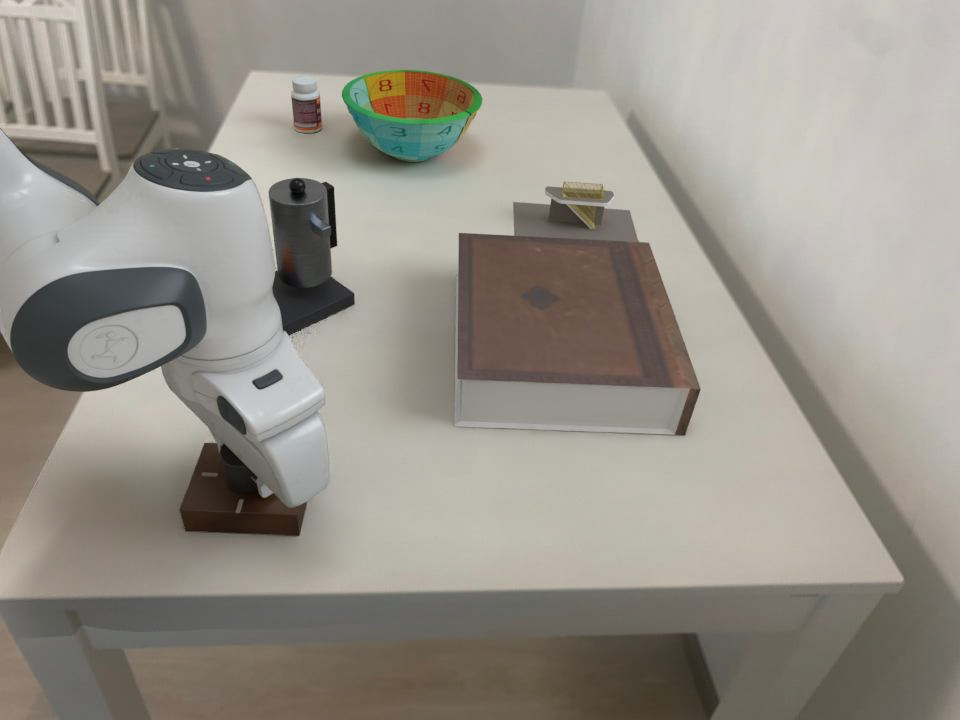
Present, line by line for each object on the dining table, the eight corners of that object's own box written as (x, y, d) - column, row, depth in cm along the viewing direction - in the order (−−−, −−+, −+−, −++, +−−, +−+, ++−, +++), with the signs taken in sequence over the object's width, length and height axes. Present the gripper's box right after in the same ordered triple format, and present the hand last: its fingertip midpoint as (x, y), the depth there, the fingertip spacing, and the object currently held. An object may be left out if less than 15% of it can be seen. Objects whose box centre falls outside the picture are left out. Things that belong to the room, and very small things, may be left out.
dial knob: (264, 496, 67) (259, 466, 65) (219, 491, 67) (212, 461, 65) (276, 462, 70) (272, 433, 68) (233, 457, 70) (227, 428, 68)
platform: (641, 251, 109) (650, 210, 105) (515, 242, 109) (520, 201, 105) (629, 210, 119) (638, 171, 114) (513, 201, 118) (518, 162, 114)
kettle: (308, 301, 89) (299, 205, 81) (267, 271, 93) (255, 176, 85) (360, 278, 93) (357, 184, 85) (319, 250, 97) (312, 157, 89)
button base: (250, 353, 86) (246, 328, 84) (203, 312, 91) (199, 288, 89) (354, 304, 95) (354, 280, 93) (306, 269, 100) (304, 246, 98)
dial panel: (184, 532, 67) (178, 509, 65) (209, 463, 74) (204, 440, 72) (299, 537, 68) (296, 514, 66) (314, 467, 74) (312, 445, 72)
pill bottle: (324, 132, 132) (321, 84, 127) (297, 135, 131) (292, 86, 125) (318, 121, 136) (315, 73, 130) (291, 123, 134) (287, 75, 129)
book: (638, 284, 103) (649, 242, 98) (685, 435, 81) (700, 389, 77) (456, 276, 101) (458, 232, 97) (454, 426, 80) (457, 379, 76)
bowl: (316, 148, 127) (312, 88, 121) (413, 115, 141) (414, 59, 134) (409, 197, 117) (410, 135, 110) (505, 156, 130) (511, 98, 124)
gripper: (124, 307, 63) (158, 427, 72) (265, 442, 53) (284, 562, 62) (194, 280, 67) (218, 397, 76) (339, 401, 56) (347, 520, 65)
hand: (249, 472), depth 69 cm, fingers closed on dial knob, 4 cm apart
